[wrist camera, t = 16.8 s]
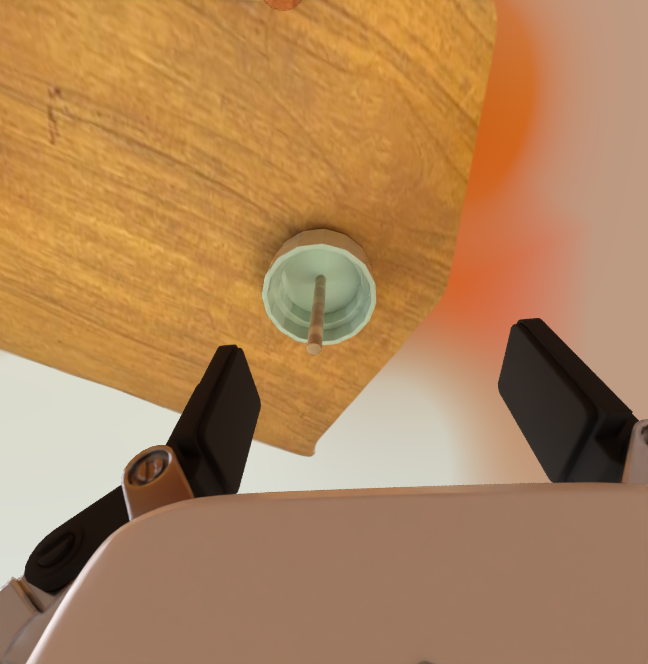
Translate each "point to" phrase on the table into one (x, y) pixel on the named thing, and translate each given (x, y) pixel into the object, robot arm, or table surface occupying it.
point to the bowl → (299, 283)
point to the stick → (317, 317)
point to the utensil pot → (282, 4)
